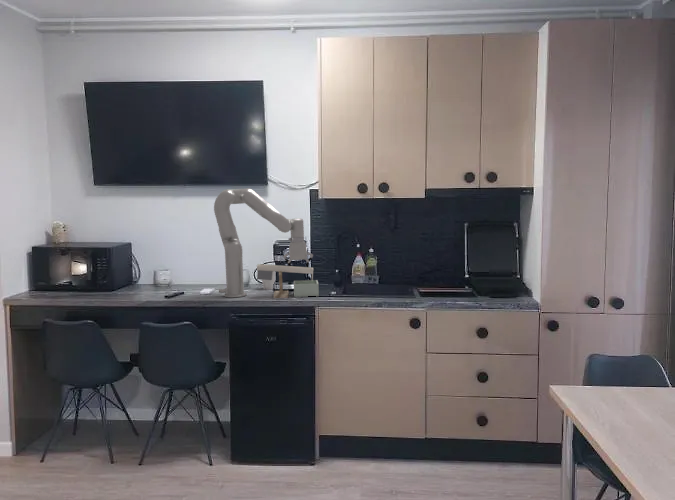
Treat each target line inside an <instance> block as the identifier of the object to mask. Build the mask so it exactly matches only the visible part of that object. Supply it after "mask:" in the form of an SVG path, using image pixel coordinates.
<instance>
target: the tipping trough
mask: <svg viewBox="0 0 675 500" xmlns="http://www.w3.org/2000/svg"><path fill="white" fill-rule="evenodd" d="M256 271H257V274H256V275H257V277H256V280H261V281H262V280H272V271H276V273H277V272H278V273H279V271H282V273H293V274H296V273H297V274H309V275H311V280H312V281H313V280H314V267H310V266H309V267H306V266H292V265H291V266H288V265H276V264H262V263H257V265H256Z"/></svg>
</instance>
